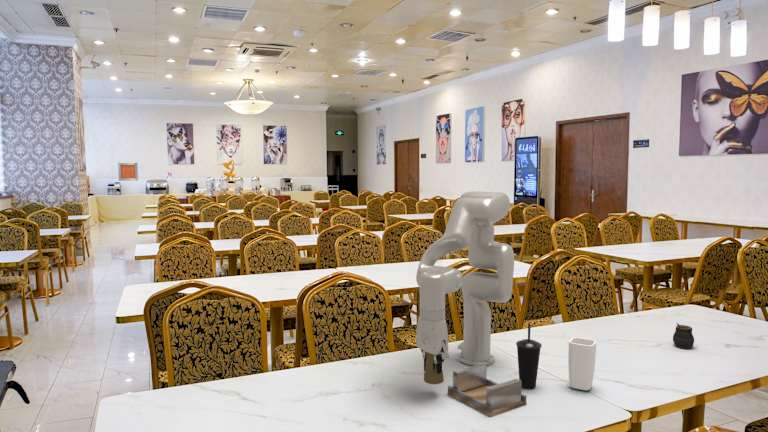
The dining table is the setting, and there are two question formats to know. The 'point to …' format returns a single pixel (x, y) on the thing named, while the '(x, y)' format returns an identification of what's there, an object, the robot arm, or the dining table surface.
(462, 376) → the sliding jaw
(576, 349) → the cup
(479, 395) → the base
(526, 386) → the drinking cup
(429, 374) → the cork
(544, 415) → the dining table surface
